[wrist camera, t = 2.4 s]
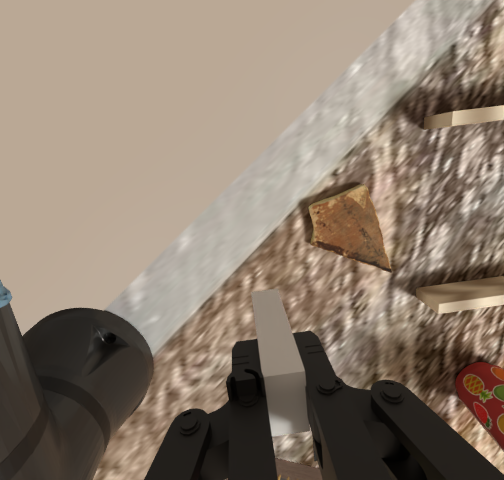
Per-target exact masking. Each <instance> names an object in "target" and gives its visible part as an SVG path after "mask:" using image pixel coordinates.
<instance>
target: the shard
mask: <svg viewBox="0 0 504 480" xmlns="http://www.w3.org/2000/svg"><path fill="white" fill-rule="evenodd" d="M308 209H309V213H310V216H311V219H312V224H313V228H314V230H313V233H312V238H311V241H310V244H311V245H312V246H317V247H319V248H322V249H324V250H327V251H331V252H334V253H336V254H338V255H341V256H344V257H347V258H349V259H352V260H355V261H358V262H361V263H364V264H368V265H373V266H376V267H378V268H381V269H382V270H384V271H388V272H392V271H391V267H390V265H389V260H388V257H387V255H386V253H385V248H384V244H383V237H382V233H381V229H380V226H379V220H378V217H377V215H376V210H375V208H374V205H373V202H372V200H371V199H370V196H369V191H368V189H367V187H366V186H365V185H364V184H360V185H357V186H355V187H354V188H351V189H349V190H347V191H344V192H342V193H340V194H338V195H336V196H332V197H329V198H326V199H323V200H321V201H318V202H314V203H313V204H311V205H310V206H309V208H308Z"/></svg>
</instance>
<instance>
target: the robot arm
mask: <svg viewBox="0 0 504 480" xmlns="http://www.w3.org/2000/svg"><path fill="white" fill-rule="evenodd" d="M251 294H252V301H253V309H254V317H255V324H256V332H257V339H253V340H246V341H239V342H236V344H235V345H234V347H233V349H232V372H231V374H230V375H229V376H228V377H227V381H226V385H227V391H228V397H229V400H228V402H227V403H226V404H225V405H224V406H223V407H221V408H220V409H218V410H216V411H214V412H212V413H209V414H207V413H206V412H205V411H204V410H201V409H197V408H196V409H189V410H186V411H184V412H182V413H181V414H179V415H178V416H177V417H176V418H175V419H174V421H173V422H172V424H171V425H170V427H169V430H168V432H167V434H166V436H165V438H164V440H163V442H162V444H161V446H160V448H159V450H158V452H157V454H156V456H155V458H154V460H153V462H152V465H151V467H150V469H149V471H148V473H147V475H146V477H145V479H144V480H225V479H227V478H228V480H278V476H277V469H276V462H275V455H274V448H273V441H272V437H273V436H280V435H287V434H293V433H300V432H307V431H310V427H311V431H312V435H313V448H314V461H318V464H319V468H320V472H321V475H322V479H323V480H504V475H503V474H502V473H501V472H500V471H499V470H498V469H497V468H496V467H495V466H493V465H492V464H491V463H490V462H489V461H488V460H487V459H486V458H485V457H483V456H482V455H481V454H480V453H479V452H478V451H477V450H476V449H475V448H473V447H472V446H471V445H470V444H469V443H468V442H467V441H466V440H465V439H463V438H462V437H461V436H460V435H459V434H458V433H457V432H456V431H455V430H453V429H452V428H451V427H450V426H449V425H448V424H447V423H446V422H445V421H444V420H442V419H441V418H440V417H439V416H438V415H437V414H436V413H435V412H434V411H432V410H431V409H430V408H429V407H428V406H427V405H426V404H425V403H424V402H422V401H421V400H420V399H419V398H418V397H417V396H416V395H415V394H414V393H412V392H411V391H410V390H409V389H408V388H407V387H405V386H404V385H402V384H401V383H398V382H395V381H392V380H381V381H377V382H376V383H374V384H373V385H372V387H371V390H365V389H357V388H353V387H350V386H348V385H346V384H345V383H344V382H343V381H342V379H340V378H338V377H337V376H336V374H335V372H334V370H333V368H332V366H331V364H330V362H329V359H328V357H327V355H326V353H325V352H324V349H323V347H322V345H321V342H320V340H319V338H318V336H316V335H315V334H314V333H313V332H311V331H305V332H298V333H292V330H291V327H290V324H289V321H288V318H287V315H286V312H285V309H284V306H283V303H282V300H281V297H280V294H279V291H278V289H271V290H264V291H257V292H251ZM11 299H12V296H11V293H10V291H9V290H7V289H6V288H5V287H4V286H3V285H2V282H1V280H0V480H93V478H94V475H95V473H96V471H97V468H98V466H99V464H100V461H101V459H102V457H103V454H104V452H105V450H106V448H107V445H108V443H109V441H110V439H111V438H112V437H113V436H114V434H115V433H116V432H117V431H118V429H119V428H120V427H121V426H122V424H123V423H124V422H125V421H126V419H127V418H128V417H129V416H130V415H132V414H133V412H134V411H135V410H136V409H137V408H138V407H139V405H140V404H141V402H142V401H143V399H144V397H145V395H146V393H147V390H148V387H149V385H150V382H151V379H152V375H153V357H152V353H151V350H150V348H149V346H148V344H147V342H146V340H145V339H144V338H143V336H142V335H141V334H140V333H139V332H138V331H137V329H135V328H134V327H133V326H132V325H131V324H129V323H128V322H127V321H125V320H123V319H122V318H120V317H118V316H116V315H114V314H111V313H108V312H105V311H102V310H97V309H91V308H71V309H65V310H61V311H58V312H55V313H53V314H50V315H49V316H46V317H45V318H43V319H42V320H40V321H39V322H38V323H37V324H36V325H34V326H33V327H32V328H31V329H30V330H29V331H27V332H26V333H25V334H24V335H23V336H22V335H21V332H20V330H19V327H18V324H17V322H16V319H15V316H14V314H13V311H12V308H11V306H10V303H9V302H10V301H11ZM309 424H310V426H309Z"/></svg>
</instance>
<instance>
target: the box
mask: <svg viewBox="0 0 504 480" xmlns="http://www.w3.org/2000/svg"><path fill="white" fill-rule="evenodd" d="M499 120H504V105H502V106H494V107H485V108H477V109H469V110H461V111H453V112H448V113H443V114H438V115H433V116H428V117H424V130H426V129H434V128H442V127H450V126H458V125H467V124H475V123H483V122H491V121H499ZM416 297H417V298H418V299H419V300H421V301H422V302H423V303H425V304H426V305H427V306H429V307H430V308H431V309H433V310H434V311H435V312H436V313H438V314H441V313H448V312H455V311H462V310H469V309H476V308H483V307H491V306H498V305H504V276H498V277H491V278H484V279H477V280H469V281H462V282H455V283H448V284H441V285H434V286H426V287H419V288H416Z"/></svg>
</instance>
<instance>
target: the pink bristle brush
mask: <svg viewBox="0 0 504 480" xmlns="http://www.w3.org/2000/svg"><path fill="white" fill-rule="evenodd" d="M275 462H276V469H277V476H278V480H323V479H322V475H321V472H320V469H319V468H315V467H310V466H306V465H302V464H298V463H294V462H290V461H286V460H282V459H277V458H275Z"/></svg>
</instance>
